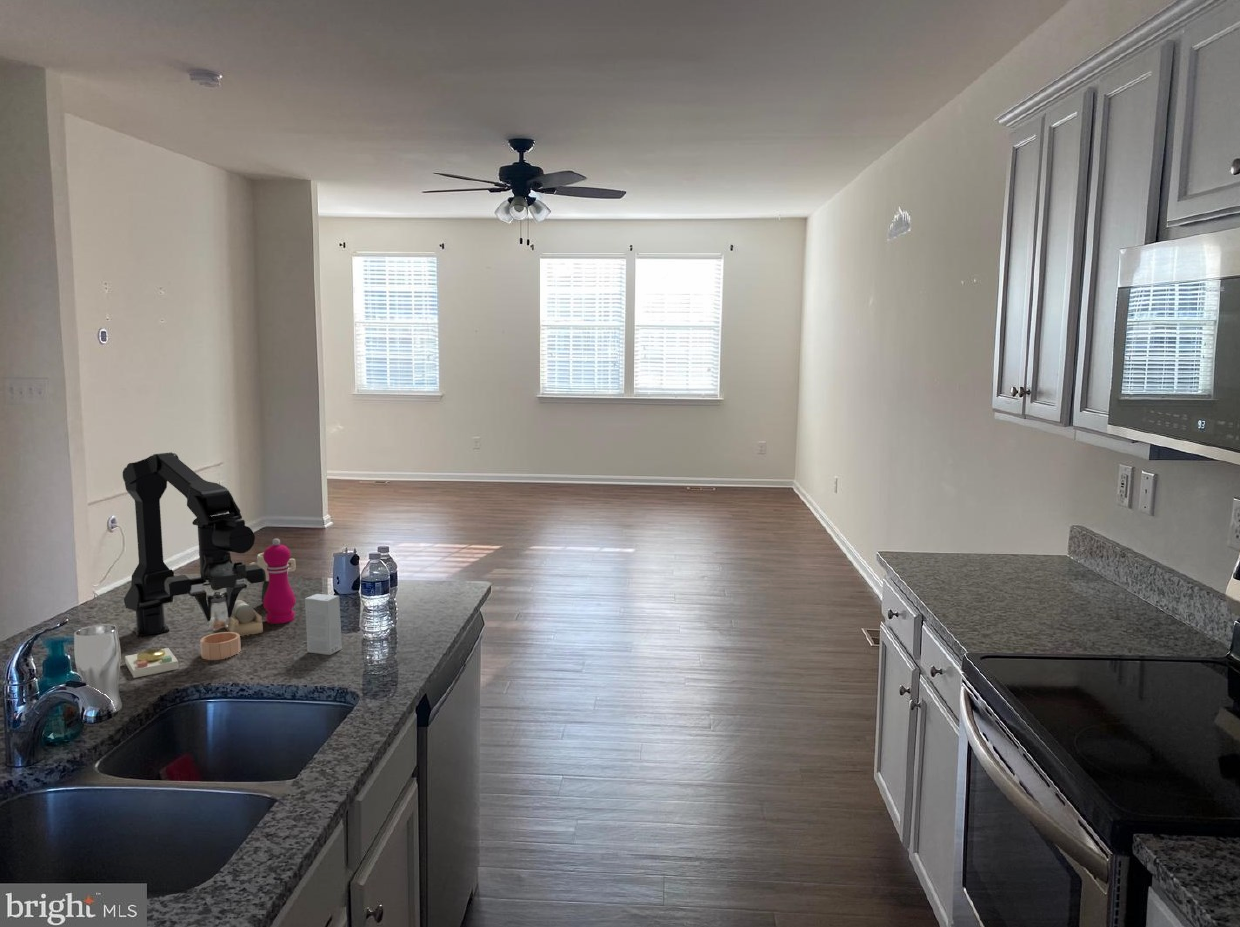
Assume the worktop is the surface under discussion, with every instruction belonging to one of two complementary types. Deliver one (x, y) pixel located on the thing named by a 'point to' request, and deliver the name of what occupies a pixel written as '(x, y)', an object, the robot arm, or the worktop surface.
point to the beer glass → (99, 659)
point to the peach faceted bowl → (220, 645)
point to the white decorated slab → (151, 664)
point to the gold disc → (151, 655)
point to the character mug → (263, 564)
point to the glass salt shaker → (218, 609)
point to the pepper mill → (278, 585)
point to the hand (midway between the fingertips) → (218, 618)
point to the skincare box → (323, 624)
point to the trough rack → (244, 620)
